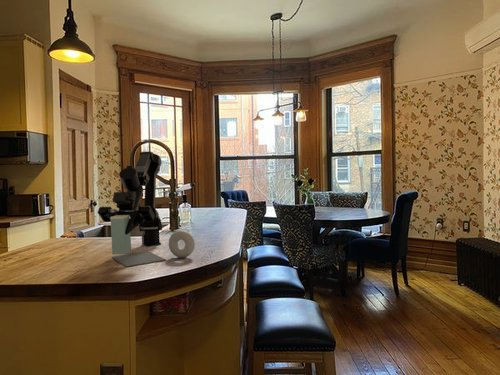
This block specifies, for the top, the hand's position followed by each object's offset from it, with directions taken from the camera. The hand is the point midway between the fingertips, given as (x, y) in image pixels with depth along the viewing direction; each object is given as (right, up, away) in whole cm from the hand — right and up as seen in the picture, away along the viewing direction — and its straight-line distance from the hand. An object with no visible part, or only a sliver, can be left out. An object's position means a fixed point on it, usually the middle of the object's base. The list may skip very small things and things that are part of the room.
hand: (119, 234), depth 124 cm
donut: (+19, -10, +10) cm, 24 cm away
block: (0, -7, +2) cm, 7 cm away
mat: (+3, -10, +10) cm, 15 cm away
